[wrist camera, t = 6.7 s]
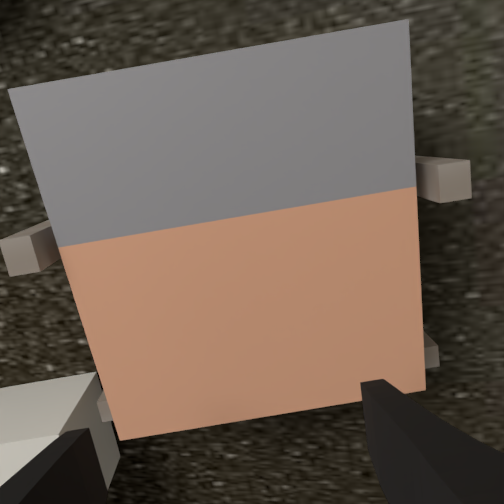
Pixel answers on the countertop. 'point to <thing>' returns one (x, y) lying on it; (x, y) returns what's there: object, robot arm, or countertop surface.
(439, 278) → the countertop surface
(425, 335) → the frame
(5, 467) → the off-white sharp-edged cube
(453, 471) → the robot arm
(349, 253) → the trapdoor
